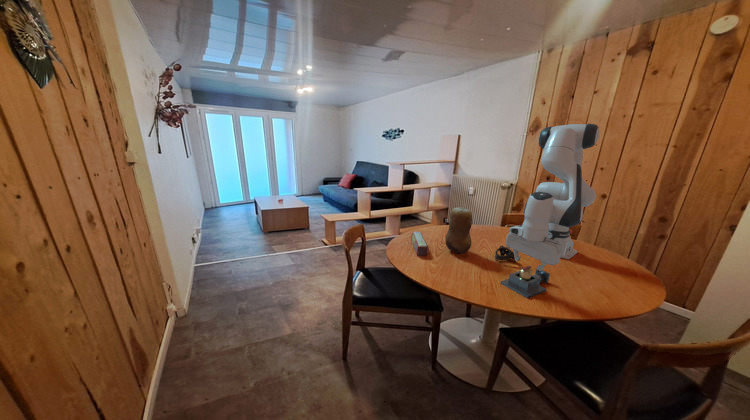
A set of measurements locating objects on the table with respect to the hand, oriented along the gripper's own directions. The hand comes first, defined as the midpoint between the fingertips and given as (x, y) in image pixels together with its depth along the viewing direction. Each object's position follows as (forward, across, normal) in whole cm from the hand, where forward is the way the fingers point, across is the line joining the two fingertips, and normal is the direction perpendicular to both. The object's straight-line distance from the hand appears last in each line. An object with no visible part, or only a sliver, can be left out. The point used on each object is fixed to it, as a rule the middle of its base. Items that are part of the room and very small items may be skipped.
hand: (528, 264), depth 101 cm
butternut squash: (+11, +38, +1) cm, 39 cm away
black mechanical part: (+11, +20, -15) cm, 28 cm away
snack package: (+10, +50, +17) cm, 54 cm away
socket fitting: (+10, 0, -3) cm, 11 cm away
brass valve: (+9, 0, +1) cm, 9 cm away
